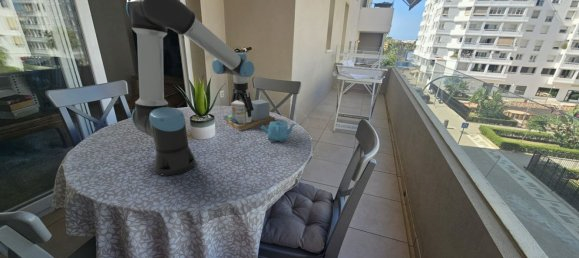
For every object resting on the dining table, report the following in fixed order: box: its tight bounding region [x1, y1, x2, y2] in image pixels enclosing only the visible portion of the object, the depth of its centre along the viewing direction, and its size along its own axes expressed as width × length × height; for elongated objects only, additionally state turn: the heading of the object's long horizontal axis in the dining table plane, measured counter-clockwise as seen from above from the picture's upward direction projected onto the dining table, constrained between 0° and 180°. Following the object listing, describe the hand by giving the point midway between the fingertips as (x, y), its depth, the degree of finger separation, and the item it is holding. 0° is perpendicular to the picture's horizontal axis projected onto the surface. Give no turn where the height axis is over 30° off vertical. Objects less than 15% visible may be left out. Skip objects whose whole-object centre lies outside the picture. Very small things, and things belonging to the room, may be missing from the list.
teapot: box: [260, 120, 296, 143], centre depth 124 cm, size 18×14×10 cm
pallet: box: [226, 114, 276, 132], centre depth 144 cm, size 14×25×4 cm, turn 132°
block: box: [251, 99, 270, 121], centre depth 146 cm, size 8×9×12 cm
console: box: [223, 115, 232, 122], centre depth 148 cm, size 7×7×3 cm
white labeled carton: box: [230, 99, 252, 125], centre depth 138 cm, size 9×8×12 cm
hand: (242, 118), depth 140 cm, fingers open, 13 cm apart
